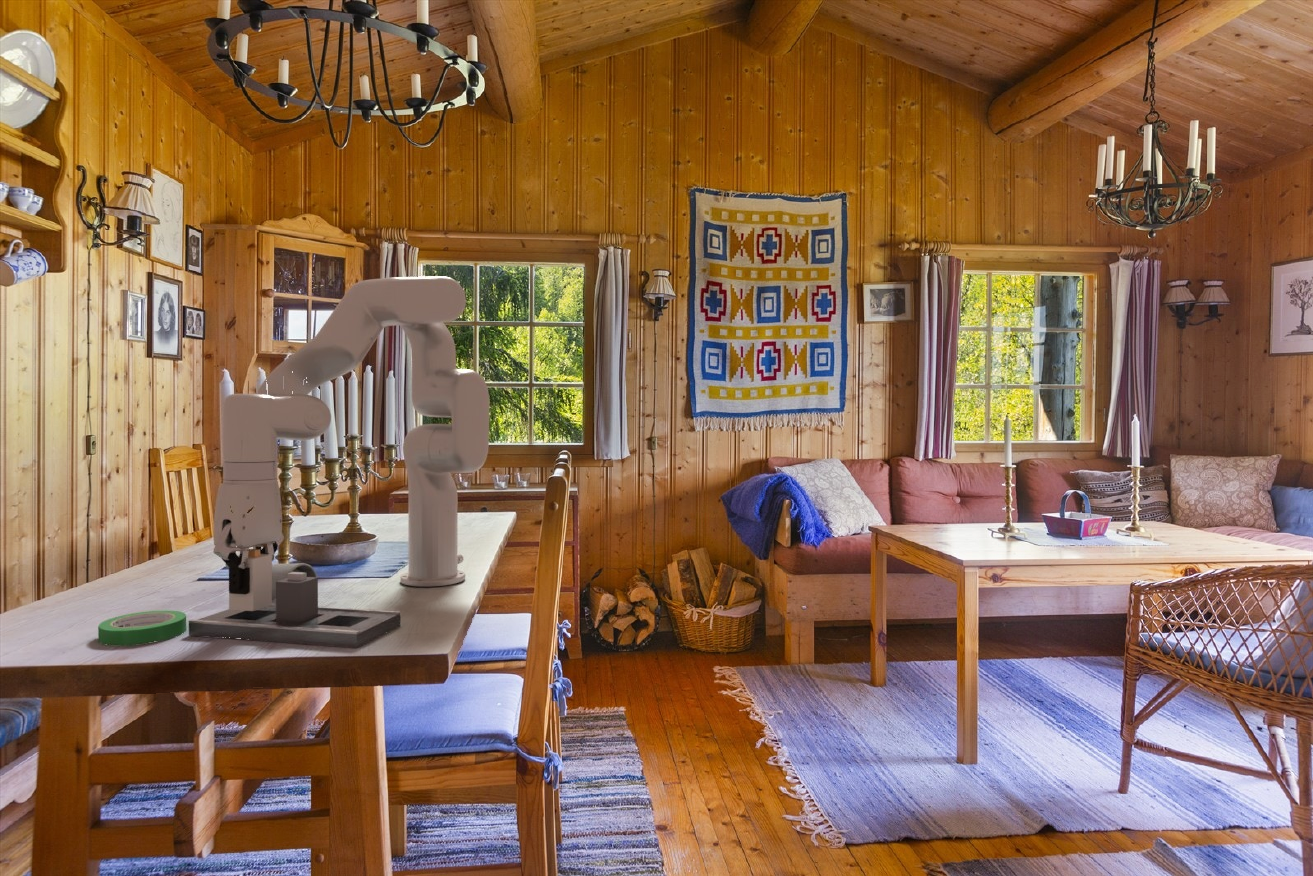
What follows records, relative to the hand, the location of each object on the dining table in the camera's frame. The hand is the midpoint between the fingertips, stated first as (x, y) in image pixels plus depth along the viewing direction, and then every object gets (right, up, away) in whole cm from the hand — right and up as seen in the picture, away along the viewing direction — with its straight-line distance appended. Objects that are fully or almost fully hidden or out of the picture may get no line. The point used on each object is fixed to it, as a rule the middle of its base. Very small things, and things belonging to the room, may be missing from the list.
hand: (250, 588), depth 121 cm
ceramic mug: (-2, -6, +13) cm, 14 cm away
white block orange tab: (0, -3, 0) cm, 3 cm away
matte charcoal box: (+8, -6, -1) cm, 10 cm away
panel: (+8, -6, -1) cm, 10 cm away
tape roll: (-14, -7, -4) cm, 16 cm away
